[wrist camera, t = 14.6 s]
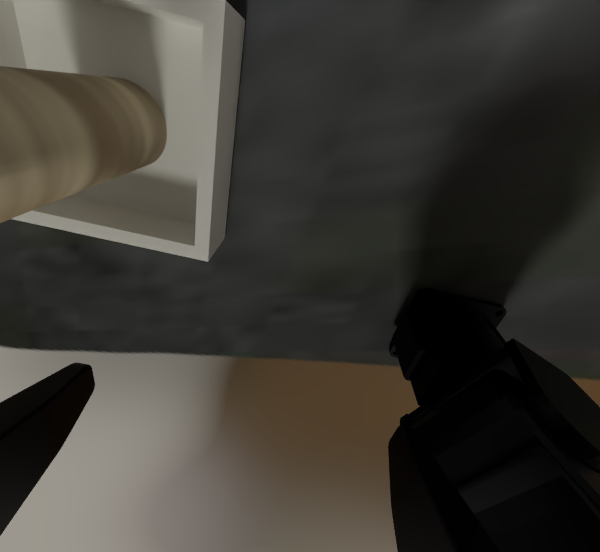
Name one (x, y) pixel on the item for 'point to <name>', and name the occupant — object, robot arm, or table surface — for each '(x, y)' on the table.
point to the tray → (169, 97)
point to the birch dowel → (70, 134)
